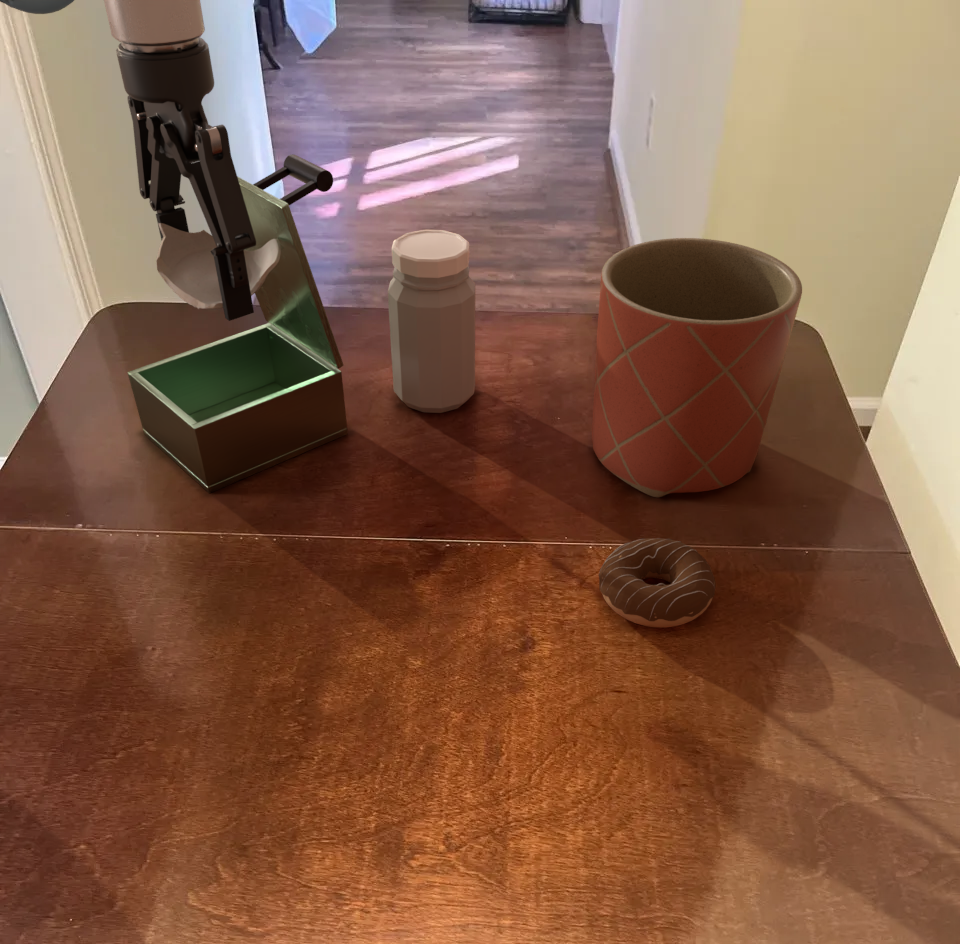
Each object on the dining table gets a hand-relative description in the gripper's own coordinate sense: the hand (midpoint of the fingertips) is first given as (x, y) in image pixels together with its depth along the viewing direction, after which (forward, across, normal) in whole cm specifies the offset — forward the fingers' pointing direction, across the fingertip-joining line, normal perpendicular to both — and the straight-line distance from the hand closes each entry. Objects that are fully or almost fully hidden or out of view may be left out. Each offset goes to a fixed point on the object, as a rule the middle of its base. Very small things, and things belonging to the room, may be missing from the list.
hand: (210, 295), depth 97 cm
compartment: (+17, +1, -2) cm, 17 cm away
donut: (+17, -47, -16) cm, 53 cm away
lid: (0, +1, -8) cm, 8 cm away
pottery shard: (0, 0, -1) cm, 1 cm away
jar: (+17, -6, -23) cm, 29 cm away
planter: (+17, -32, -35) cm, 51 cm away
